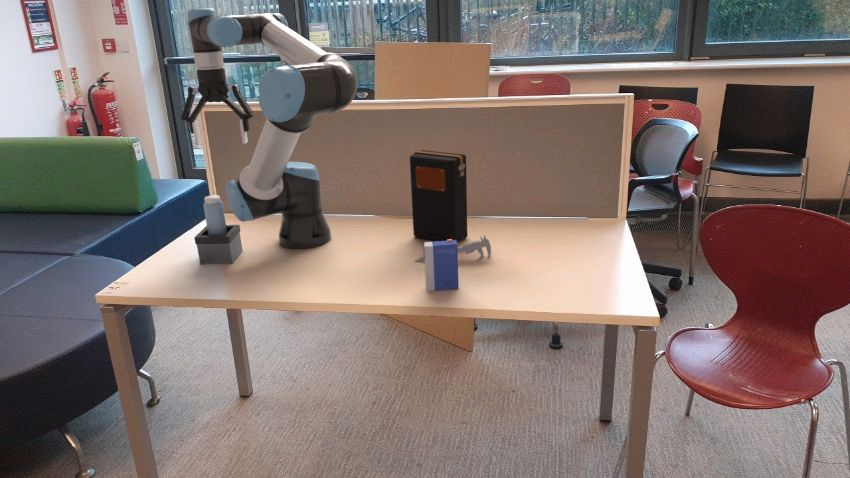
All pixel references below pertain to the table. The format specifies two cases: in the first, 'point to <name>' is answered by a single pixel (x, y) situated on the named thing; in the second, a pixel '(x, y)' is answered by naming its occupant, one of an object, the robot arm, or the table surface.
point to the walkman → (441, 265)
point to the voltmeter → (439, 195)
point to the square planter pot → (219, 246)
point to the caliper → (470, 248)
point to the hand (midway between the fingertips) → (222, 143)
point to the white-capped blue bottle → (214, 215)
